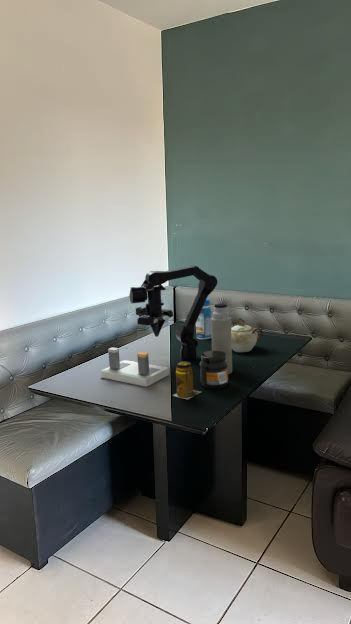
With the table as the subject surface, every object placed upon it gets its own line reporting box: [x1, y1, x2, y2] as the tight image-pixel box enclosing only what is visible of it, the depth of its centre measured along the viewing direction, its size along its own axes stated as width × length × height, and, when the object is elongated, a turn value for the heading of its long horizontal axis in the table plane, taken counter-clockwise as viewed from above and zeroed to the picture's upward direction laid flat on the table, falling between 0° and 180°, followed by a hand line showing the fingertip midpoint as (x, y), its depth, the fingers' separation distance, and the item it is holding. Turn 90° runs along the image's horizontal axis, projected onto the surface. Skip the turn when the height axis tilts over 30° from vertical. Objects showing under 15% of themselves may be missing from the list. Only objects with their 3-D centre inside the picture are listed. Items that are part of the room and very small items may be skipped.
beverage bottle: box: [195, 297, 213, 340], centre depth 251 cm, size 8×8×20 cm
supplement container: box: [199, 350, 229, 390], centre depth 187 cm, size 10×10×12 cm
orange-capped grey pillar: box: [136, 351, 150, 375], centre depth 193 cm, size 2×4×8 cm, turn 56°
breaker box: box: [100, 359, 170, 387], centre depth 201 cm, size 15×23×3 cm, turn 56°
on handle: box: [107, 347, 121, 369], centre depth 201 cm, size 2×4×8 cm, turn 56°
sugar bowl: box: [231, 318, 263, 353], centre depth 228 cm, size 20×15×15 cm
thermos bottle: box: [211, 303, 233, 375], centre depth 199 cm, size 8×8×28 cm
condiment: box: [171, 360, 202, 400], centre depth 179 cm, size 7×8×12 cm
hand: (156, 336), depth 214 cm, fingers closed
